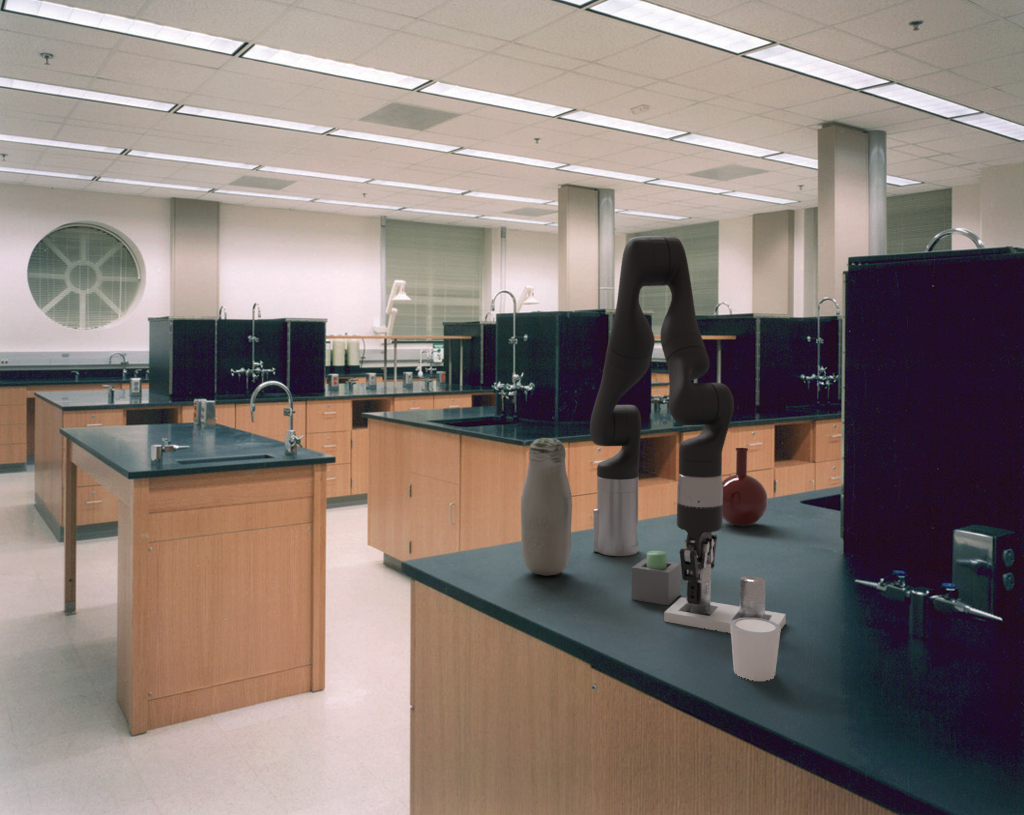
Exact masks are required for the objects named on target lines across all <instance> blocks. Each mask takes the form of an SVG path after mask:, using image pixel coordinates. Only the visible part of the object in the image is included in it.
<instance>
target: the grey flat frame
mask: <svg viewBox="0 0 1024 815" xmlns="http://www.w3.org/2000/svg"><path fill="white" fill-rule="evenodd" d="M739 613H740V605H739V606H738V605H732V604H726V603H719V602H713V601H710V612H708V613H707V615H706V614H701V613H693V612H689V611H688V610H687V609H686V597H684V596H681V597H679V598H678V599H677V600H676V601H675V602H674V603H673V604H671V606H669V607H668V608H667V609H666V610H665V611H664V613H663V614H664V615H663V616H664V617H663V618H664V619H663V620H664V621H663V622H667V623H672V624H676V625H677V624H678V625H682V626H688V627H694V628H699V629H704V628H705V630H711V631H715V630H717V631H716V632H721V633H726V632H728V633H727V634H731V627H730V623H731V622H732V621H733V620H735V619H738V618H739ZM786 616H787V614H786V613H782V612H781V613H780V612H775V611H769V610H765V620H768V621H772V622H774V623H776V624H778V625H779V626H780V628H781V629H782V630H783V628H784V626H785V625H786V619H787V617H786Z"/></svg>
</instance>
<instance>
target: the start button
mask: <svg viewBox="0 0 1024 815" xmlns="http://www.w3.org/2000/svg"><path fill="white" fill-rule="evenodd" d="M646 558H647V568H654V569H661V570H665V569H666V568H667V561H668V559H667V558H668V555H667V552H666V551H663V550H649V551H647V552H646Z"/></svg>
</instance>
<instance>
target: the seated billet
mask: <svg viewBox="0 0 1024 815" xmlns="http://www.w3.org/2000/svg"><path fill="white" fill-rule="evenodd" d="M739 607H740V613H739V618H759V619H765V611H766V579H765V578H762V577H759V576H753V575H745V576H741V577H740V578H739Z"/></svg>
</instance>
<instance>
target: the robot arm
mask: <svg viewBox="0 0 1024 815" xmlns="http://www.w3.org/2000/svg"><path fill="white" fill-rule="evenodd" d="M618 283H619V285H618V289H617V290H618V292H617V300H616V307H615V312H614V316H613V322H612V325H611V330H610V332H609V333H610V335H609V338H608V343H607V347H606V348H607V349H606V352H605V360H604V365H603V370H602V371H603V372H602V376H601V377H602V378H601V381H600V385H599V389H598V392H597V395H596V399H595V402H594V406H593V409H592V412H591V415H590V416H591V417H590V423H589V436H590V439H591V441H592V442H593V444H594V445H595V446H600V447H601V446H602V447H621V448H620V450H619V451H618V452H617V453H616V454H615V455H613V456H612V457H609V458H607V459H605V460H602V461H600V462H599V463H598V464H597V466H596V508H595V509H593V515H592V516H593V518H592V519H593V531H592V532H593V533H592V535H593V536H592V538H593V546H592V548H593V552H595V553H599V554H601V555H605V556H611V557H627V556H628V557H629V556H633V555H636V554H637V553H638V551H639V467H640V454H641V453H640V450H641V447H640V446H641V436H642V434H641V433H642V416H641V413H640V410H639V408H638V407H637V406H636V405H634V404H618V402H619V400H621V398H622V397H623V396H624V395H625V394H627V393H628V391H629V390H630V389H632V388H633V387H634V386H635V385H636V384H637V383H638V382H639V381H640V380H641V379H642V378H643V376H644V375H646V374H647V371H648V370H649V368H650V363H651V361H652V356H653V354H654V353H653V352H654V348H655V342H656V341H655V340H656V339H655V335H654V331H653V329H652V327H651V325H650V323H649V321H648V320H647V318H646V316H645V314H644V312H643V310H642V307H641V304H640V294H641V293H640V292H641V290H642V288H643V287H656V286H657V287H659V286H660V287H664V286H665V287H666V286H668V288H669V290H670V292H671V301H670V304H669V307H668V309H667V312H666V315H665V317H664V319H663V322H662V325H661V327H660V328H661V329H660V345H661V348H662V352H663V356H664V358H665V359H664V360H665V362H666V365H667V369H668V383H669V385H668V386H669V387H668V388H669V390H668V391H669V392H668V409H669V413H670V415H671V417H672V418H673V420H674V421H675V422H676V423H678V424H680V425H683V426H701V425H702V426H703V428H702V430H701V432H700V433H699V435H697V436H694V437H690V438H688V439H685V440H683V441H681V443H680V445H679V448H678V449H679V452H678V454H679V455H678V457H679V458H678V480H677V487H676V488H677V490H676V491H677V492H676V493H677V494H676V495H677V496H676V527H677V528H679V529H680V530H684V531H685V532H686V533H687V535H686V539H684V545H683V546H684V548H680V551H679V559H680V563H681V580H682V581H686V582H687V581H688V585H687V584H686V593H687V601H688V603H690V604H696V605H699V604H700V603H701V590H702V583H701V582H702V573H703V569H705V568H706V562H709V563H711V570H714V567H715V562H716V561H715V560H716V559H715V558H716V550H717V540H718V535H717V534H715V533H716V532H719V531H721V529H722V528H723V518H722V514H723V485H722V481H723V479H722V477H723V476H722V475H723V472H722V468H723V467H722V466H723V464H722V462H723V449H724V445H725V443H726V442H725V441H726V438H727V434H728V430H729V427H730V424H731V421H732V417H733V414H734V408H735V401H734V396H733V393H732V391H731V390H730V388H729V387H728V386H727V385H726V384H724V383H721V382H692V381H694V380H697V379H699V378H701V377H702V376H704V375H706V374H707V372H708V371H709V368H710V358H709V355H708V352H707V349H706V346H705V343H704V341H703V337H702V334H701V330H700V328H699V325H698V321H697V316H696V310H695V302H694V296H693V289H692V288H693V287H692V280H691V275H690V270H689V264H688V259H687V255H686V250H685V247H684V245H683V243H682V241H681V239H679V238H678V237H676V236H673V235H649V236H648V235H647V236H646V235H645V236H643V235H642V236H641V235H640V236H634V237H631V238H629V239H628V241H627V242H626V244H625V246H624V250H623V253H622V258H621V266H620V274H619V282H618ZM713 533H714V534H713ZM697 562H701V563H700V564H698V563H697ZM691 570H692V571H693V574H691Z"/></svg>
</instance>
